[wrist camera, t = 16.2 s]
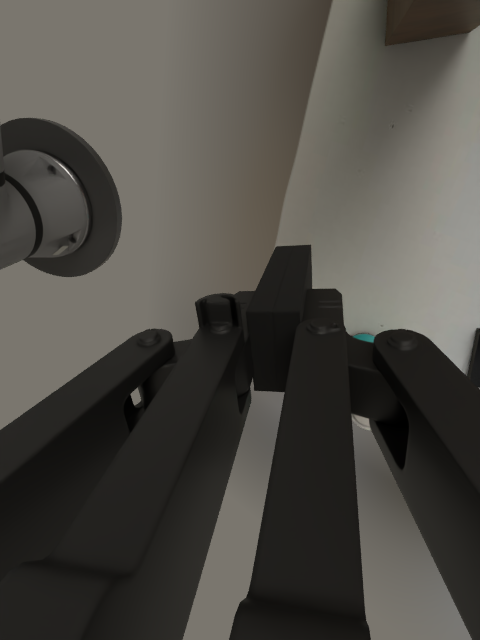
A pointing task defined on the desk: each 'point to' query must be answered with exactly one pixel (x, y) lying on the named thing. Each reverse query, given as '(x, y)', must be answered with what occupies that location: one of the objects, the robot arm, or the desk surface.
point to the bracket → (475, 361)
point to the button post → (429, 19)
